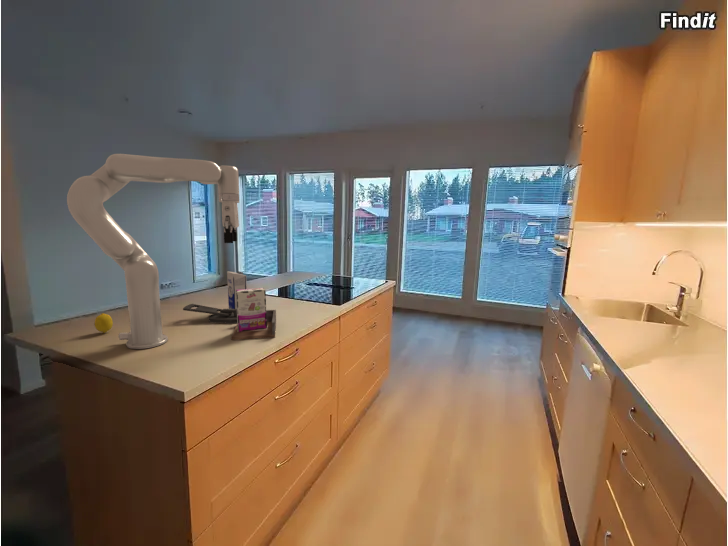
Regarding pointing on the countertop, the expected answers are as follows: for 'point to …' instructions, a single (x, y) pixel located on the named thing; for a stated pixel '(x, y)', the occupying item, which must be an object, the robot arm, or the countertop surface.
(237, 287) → the milk carton
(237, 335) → the brown square tray
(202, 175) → the robot arm
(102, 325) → the lemon
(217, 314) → the dark grey spatula
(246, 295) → the candy bar box
